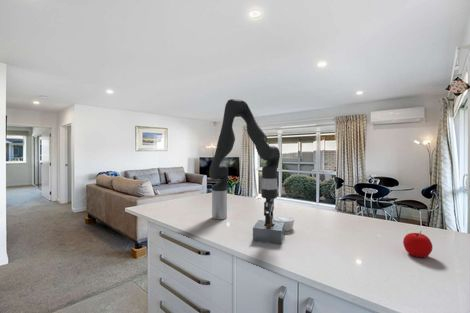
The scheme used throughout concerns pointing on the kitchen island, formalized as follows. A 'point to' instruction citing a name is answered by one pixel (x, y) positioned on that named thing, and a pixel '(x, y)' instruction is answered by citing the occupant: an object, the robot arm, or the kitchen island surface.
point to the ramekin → (285, 222)
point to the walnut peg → (270, 221)
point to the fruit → (417, 244)
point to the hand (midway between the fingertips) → (269, 221)
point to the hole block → (268, 232)
